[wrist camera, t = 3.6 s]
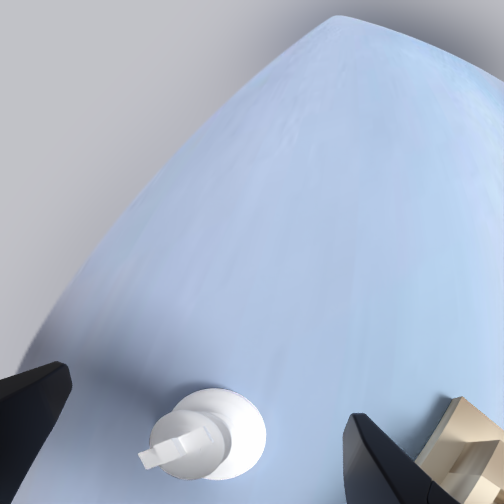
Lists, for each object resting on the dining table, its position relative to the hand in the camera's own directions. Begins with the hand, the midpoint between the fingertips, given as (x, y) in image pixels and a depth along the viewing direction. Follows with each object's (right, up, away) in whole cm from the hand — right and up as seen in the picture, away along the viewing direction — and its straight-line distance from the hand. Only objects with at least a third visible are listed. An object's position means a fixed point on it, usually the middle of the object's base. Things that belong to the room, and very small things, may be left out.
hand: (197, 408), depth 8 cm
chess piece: (0, -5, +6) cm, 7 cm away
